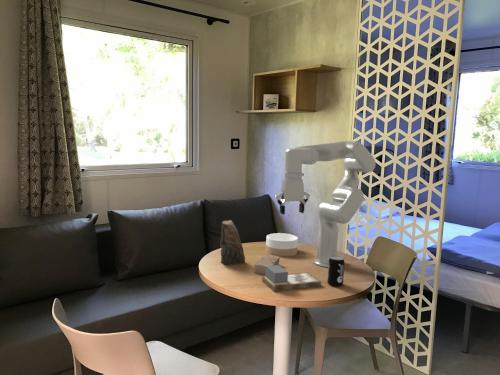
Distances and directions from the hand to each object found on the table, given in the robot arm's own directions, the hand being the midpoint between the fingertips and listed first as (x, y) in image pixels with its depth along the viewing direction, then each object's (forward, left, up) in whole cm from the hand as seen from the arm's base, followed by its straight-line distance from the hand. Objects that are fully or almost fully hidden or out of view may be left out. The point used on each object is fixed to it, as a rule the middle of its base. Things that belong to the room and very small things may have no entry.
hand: (292, 213), depth 179 cm
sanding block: (+13, +14, -26) cm, 32 cm away
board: (+6, +14, -28) cm, 32 cm away
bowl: (-11, -31, -28) cm, 44 cm away
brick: (+8, -7, -28) cm, 30 cm away
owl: (+21, -21, -28) cm, 41 cm away
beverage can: (-12, +20, -28) cm, 36 cm away
